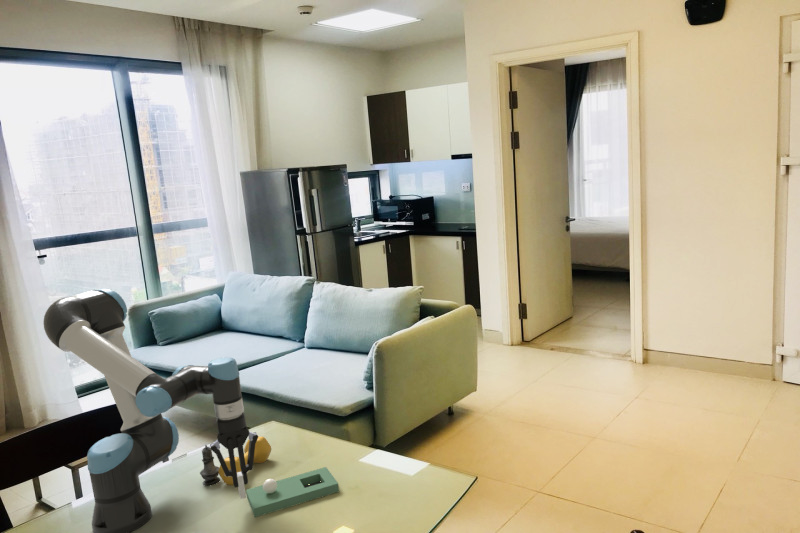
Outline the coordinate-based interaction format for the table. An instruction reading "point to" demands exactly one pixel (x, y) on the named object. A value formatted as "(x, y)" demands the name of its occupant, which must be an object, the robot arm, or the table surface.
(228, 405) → the robot arm
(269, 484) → the ball
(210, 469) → the dark grey chess piece
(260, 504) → the green
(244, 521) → the table surface
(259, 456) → the dumbbell
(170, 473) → the table surface
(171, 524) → the table surface
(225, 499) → the table surface
